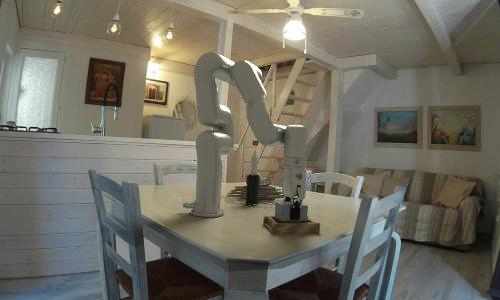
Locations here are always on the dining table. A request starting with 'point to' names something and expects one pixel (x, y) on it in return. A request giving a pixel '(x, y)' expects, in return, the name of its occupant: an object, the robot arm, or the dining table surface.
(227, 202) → the dining table surface
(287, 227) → the wooden tray
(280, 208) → the grey block
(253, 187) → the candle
